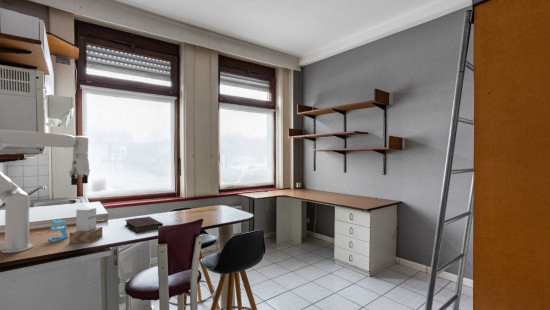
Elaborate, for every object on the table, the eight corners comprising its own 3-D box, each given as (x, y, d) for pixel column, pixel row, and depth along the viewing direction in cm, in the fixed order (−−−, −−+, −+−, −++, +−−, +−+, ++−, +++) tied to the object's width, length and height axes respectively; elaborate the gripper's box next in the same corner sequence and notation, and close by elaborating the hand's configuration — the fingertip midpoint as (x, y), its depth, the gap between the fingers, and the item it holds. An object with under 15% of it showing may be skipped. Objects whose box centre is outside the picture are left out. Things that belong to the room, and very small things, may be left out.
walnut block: (69, 243, 161) (69, 232, 161) (82, 236, 173) (82, 227, 173) (91, 242, 162) (91, 232, 162) (102, 236, 174) (102, 226, 174)
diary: (150, 222, 212) (150, 216, 212) (163, 229, 193) (163, 222, 193) (123, 226, 199) (123, 219, 199) (134, 234, 181) (134, 226, 181)
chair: (69, 238, 169) (69, 218, 169) (53, 242, 162) (53, 221, 162) (64, 236, 174) (64, 217, 174) (48, 239, 167) (48, 219, 167)
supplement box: (87, 231, 163) (87, 210, 163) (75, 231, 164) (75, 209, 164) (96, 228, 171) (96, 207, 171) (85, 227, 172) (85, 207, 172)
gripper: (77, 156, 163) (76, 185, 163) (95, 156, 180) (94, 182, 180) (64, 156, 162) (63, 185, 162) (83, 156, 180) (82, 182, 180)
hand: (79, 184), depth 171 cm, fingers open, 9 cm apart
